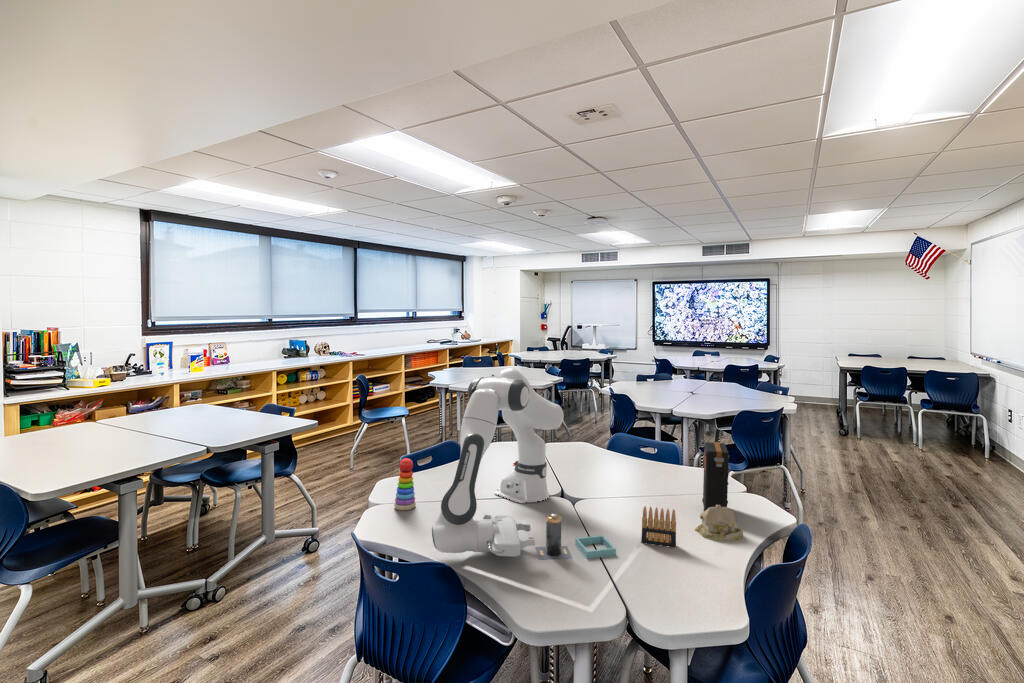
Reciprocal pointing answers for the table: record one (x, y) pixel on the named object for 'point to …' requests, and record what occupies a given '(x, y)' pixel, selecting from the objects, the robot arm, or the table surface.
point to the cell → (553, 534)
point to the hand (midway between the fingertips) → (532, 534)
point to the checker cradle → (543, 556)
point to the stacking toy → (405, 487)
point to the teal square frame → (595, 553)
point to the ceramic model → (719, 524)
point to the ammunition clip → (659, 528)
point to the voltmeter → (715, 475)
